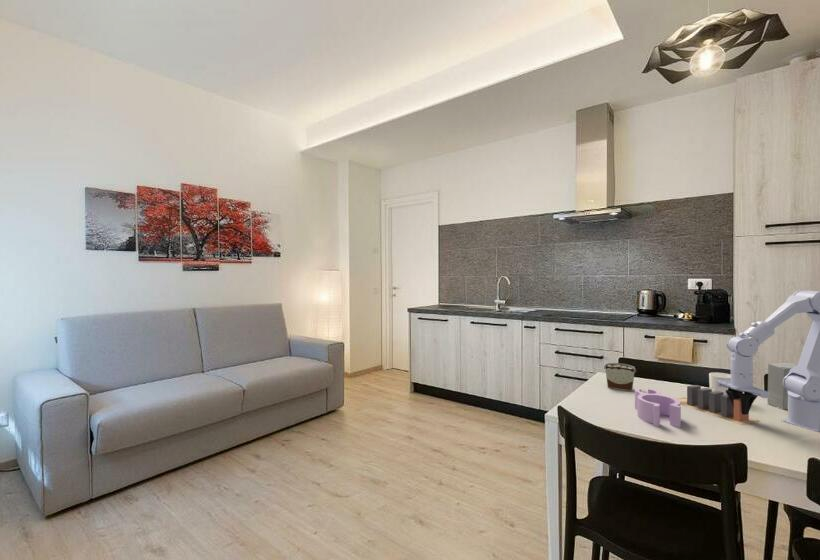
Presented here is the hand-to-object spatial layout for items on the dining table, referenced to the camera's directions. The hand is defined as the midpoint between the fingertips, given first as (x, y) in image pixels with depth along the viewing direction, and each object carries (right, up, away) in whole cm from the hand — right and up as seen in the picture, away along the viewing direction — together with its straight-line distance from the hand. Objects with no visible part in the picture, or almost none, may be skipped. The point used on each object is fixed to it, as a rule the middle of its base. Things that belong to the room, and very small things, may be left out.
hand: (741, 412), depth 133 cm
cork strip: (-3, -3, +10) cm, 10 cm away
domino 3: (-3, -2, +8) cm, 8 cm away
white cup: (+9, -2, +20) cm, 22 cm away
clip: (-26, -3, +6) cm, 26 cm away
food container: (-20, -2, +39) cm, 44 cm away
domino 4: (-1, -2, +4) cm, 5 cm away
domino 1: (-5, -2, +15) cm, 16 cm away
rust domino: (0, -2, 0) cm, 2 cm away
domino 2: (-4, -2, +11) cm, 12 cm away
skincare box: (+27, -2, +12) cm, 29 cm away
